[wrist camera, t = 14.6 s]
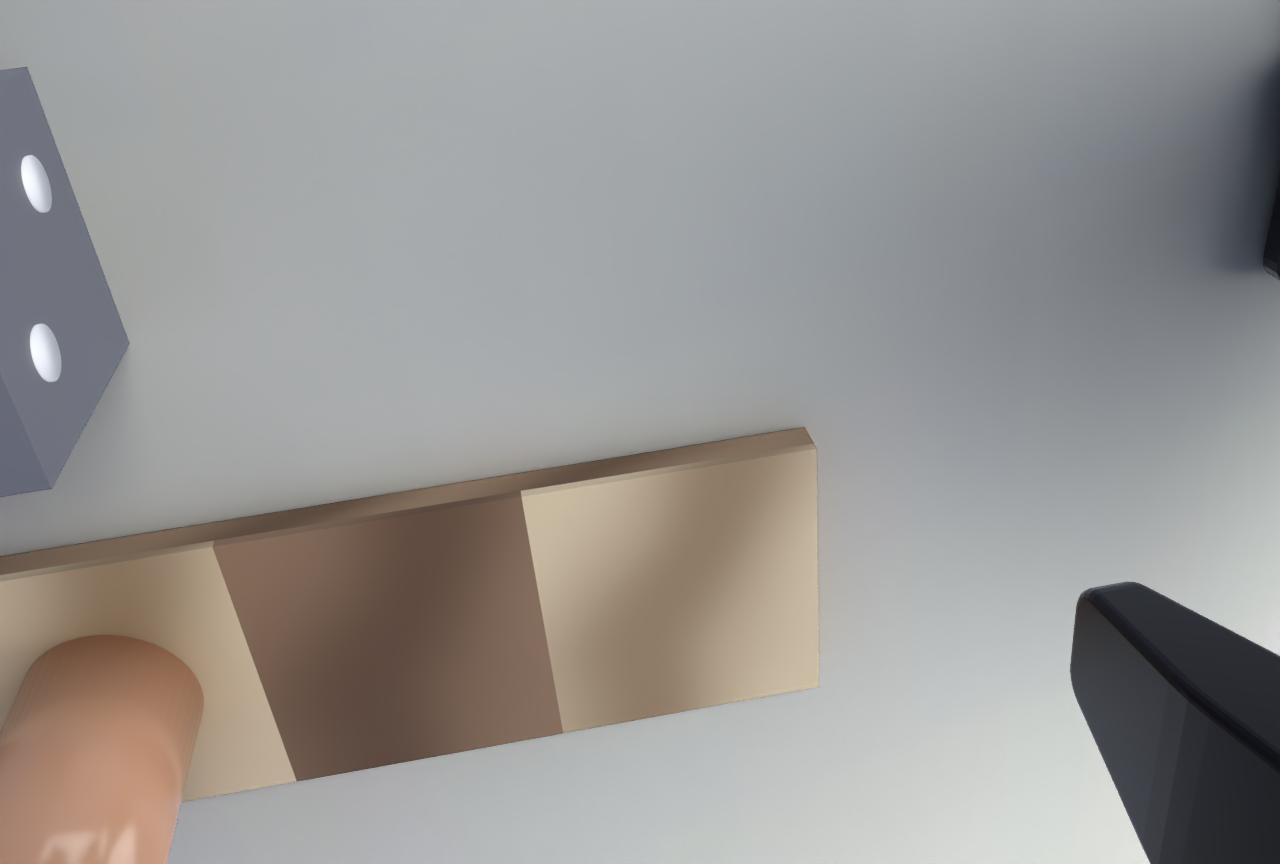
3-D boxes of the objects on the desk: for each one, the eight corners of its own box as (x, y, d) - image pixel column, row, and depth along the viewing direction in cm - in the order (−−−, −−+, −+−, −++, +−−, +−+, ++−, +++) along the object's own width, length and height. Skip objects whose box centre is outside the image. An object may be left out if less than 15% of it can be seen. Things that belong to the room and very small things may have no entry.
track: (804, 427, 22) (816, 449, 21) (808, 661, 25) (819, 687, 24) (-420, 624, 20) (-452, 655, 19) (-249, 850, 23) (-271, 884, 22)
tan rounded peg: (183, 625, 21) (80, 991, 15) (219, 749, 22) (139, 1124, 16) (-2, 646, 20) (-189, 1031, 14) (48, 770, 22) (-100, 1164, 16)
